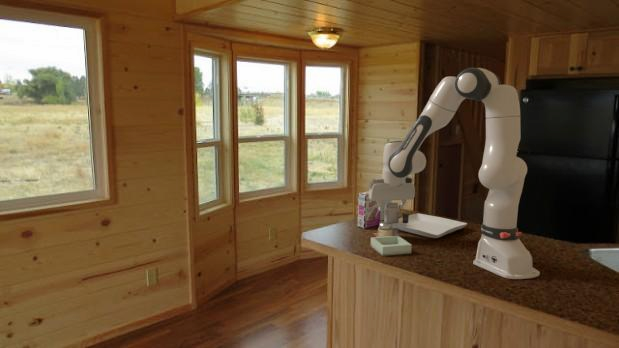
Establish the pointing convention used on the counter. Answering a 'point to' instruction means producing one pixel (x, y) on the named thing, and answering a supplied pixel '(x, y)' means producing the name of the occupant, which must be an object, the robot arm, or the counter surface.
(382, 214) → the supplement box
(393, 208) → the energy drink can
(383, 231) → the crank pedestal
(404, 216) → the crank lever
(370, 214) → the candy bar box
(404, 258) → the counter surface
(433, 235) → the square plate
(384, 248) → the tray
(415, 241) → the counter surface
